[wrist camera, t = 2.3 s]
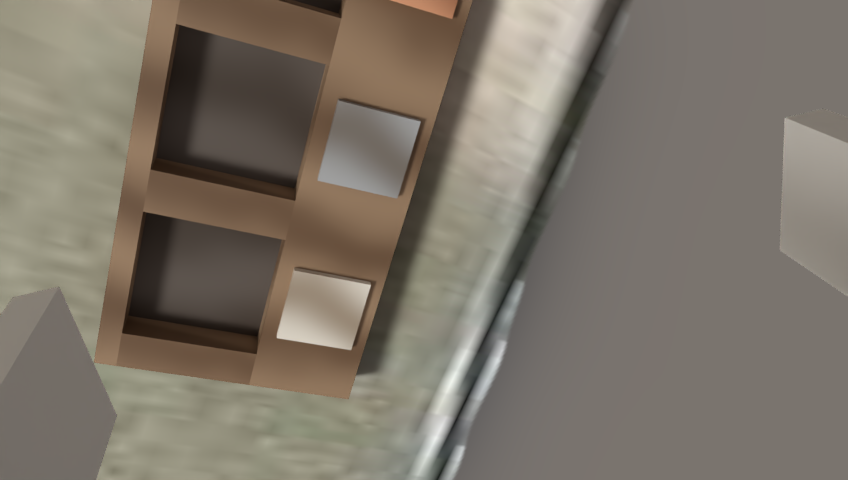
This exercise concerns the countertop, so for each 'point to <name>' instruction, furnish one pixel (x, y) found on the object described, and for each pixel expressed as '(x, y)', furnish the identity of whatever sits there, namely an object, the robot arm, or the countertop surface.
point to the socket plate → (270, 184)
